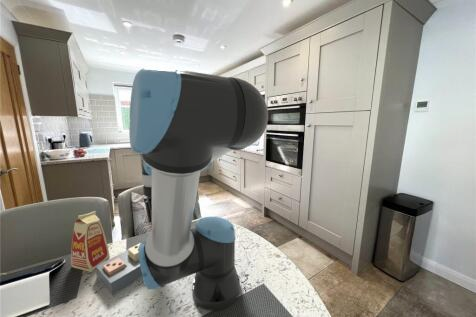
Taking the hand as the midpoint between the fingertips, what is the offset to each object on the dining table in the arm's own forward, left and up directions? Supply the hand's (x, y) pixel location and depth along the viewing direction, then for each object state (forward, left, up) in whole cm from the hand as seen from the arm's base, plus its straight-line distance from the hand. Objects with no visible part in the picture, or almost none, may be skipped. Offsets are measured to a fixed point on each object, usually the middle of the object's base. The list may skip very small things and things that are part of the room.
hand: (157, 240), depth 78 cm
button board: (0, +8, -6) cm, 10 cm away
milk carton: (+17, +18, -6) cm, 25 cm away
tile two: (0, +8, -2) cm, 8 cm away
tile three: (0, +16, -3) cm, 16 cm away
